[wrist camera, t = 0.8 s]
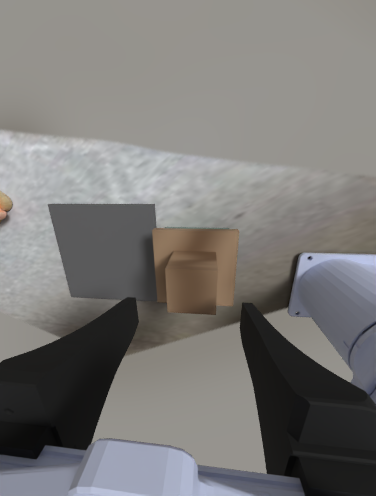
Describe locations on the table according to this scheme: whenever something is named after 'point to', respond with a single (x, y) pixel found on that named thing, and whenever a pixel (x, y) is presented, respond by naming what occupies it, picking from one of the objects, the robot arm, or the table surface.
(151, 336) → the table surface
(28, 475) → the robot arm
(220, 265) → the lid
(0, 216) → the grandmother figurine
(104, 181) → the table surface
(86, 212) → the mat
